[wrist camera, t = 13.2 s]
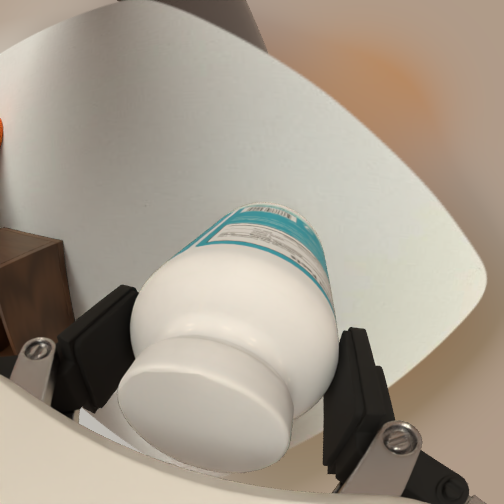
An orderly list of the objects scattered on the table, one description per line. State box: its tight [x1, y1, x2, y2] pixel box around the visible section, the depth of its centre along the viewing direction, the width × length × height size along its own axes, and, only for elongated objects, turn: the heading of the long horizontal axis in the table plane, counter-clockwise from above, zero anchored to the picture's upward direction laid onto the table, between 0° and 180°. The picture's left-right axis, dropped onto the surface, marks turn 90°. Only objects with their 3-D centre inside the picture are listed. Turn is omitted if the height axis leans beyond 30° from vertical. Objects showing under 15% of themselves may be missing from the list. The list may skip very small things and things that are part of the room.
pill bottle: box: [117, 202, 339, 473], centre depth 12 cm, size 8×7×14 cm
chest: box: [0, 227, 75, 357], centre depth 22 cm, size 16×13×9 cm
